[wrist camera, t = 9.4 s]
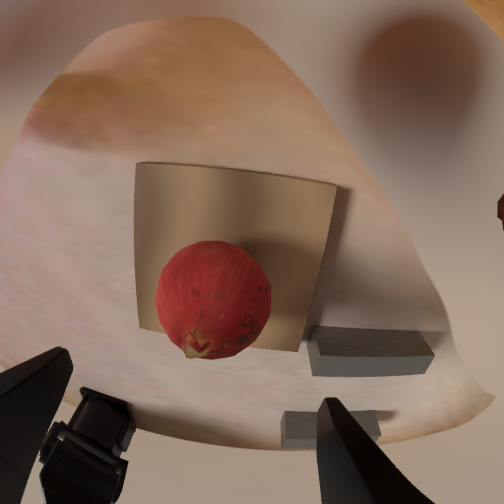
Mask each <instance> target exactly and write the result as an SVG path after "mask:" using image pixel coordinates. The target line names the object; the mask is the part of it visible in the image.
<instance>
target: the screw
mask: <svg viewBox="0 0 504 504" xmlns="http://www.w3.org/2000/svg"><path fill="white" fill-rule="evenodd" d="M497 211H498V212H497V217H498V218H499V219H500V220H502V224H503V230H504V194H503V195H502V197H501V198H500V199H499V201H498V210H497Z"/></svg>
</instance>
